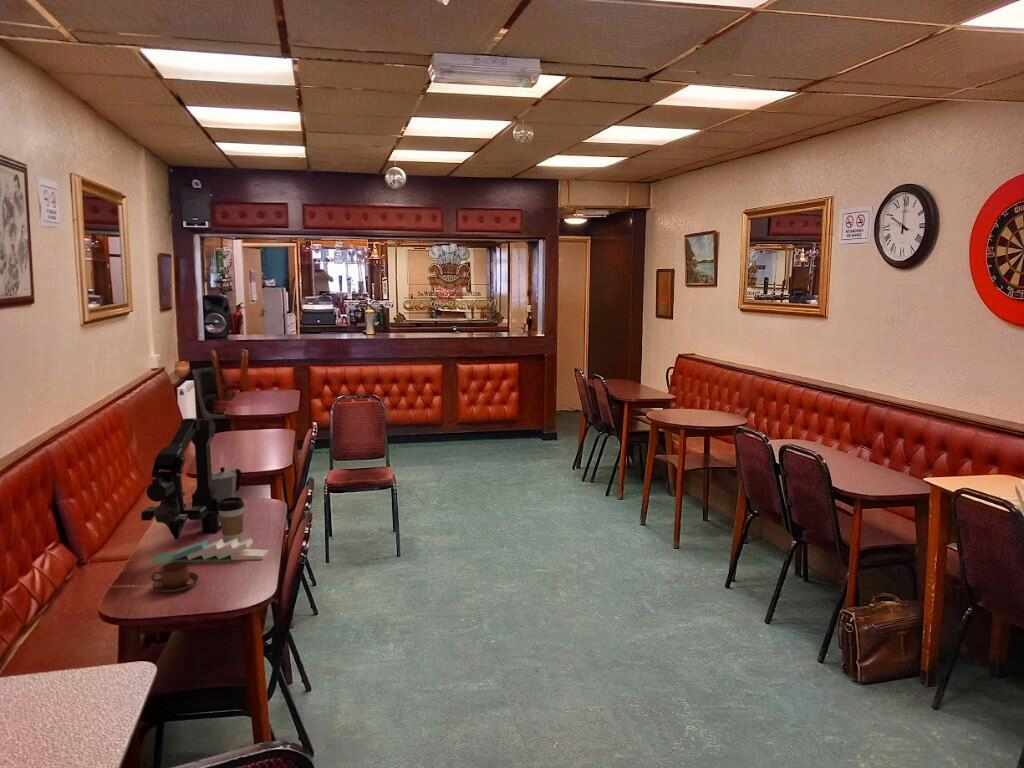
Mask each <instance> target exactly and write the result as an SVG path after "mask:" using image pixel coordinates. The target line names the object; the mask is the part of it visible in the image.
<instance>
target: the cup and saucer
mask: <svg viewBox="0 0 1024 768" xmlns="http://www.w3.org/2000/svg"><path fill="white" fill-rule="evenodd" d="M155 575H160V577H159V578H155ZM150 579H151V580H152V581H153V583H152V587H153V590H156V591H157V592H158V593H159V592H160V593H176V592H177V593H178V592H180V591H184V590H187V589H189V588H191V587H193V586H194V585H195V584H196V583H197V582H198V580H199V575H198V574H196V573H194V572H191V571H189V562H168V563H167V564H164V565H162V566H161V567H160V568H159V571H154V572H152V573H151V577H150ZM189 579H191V580H192V581H193V582H192V583H188V581H189Z"/></svg>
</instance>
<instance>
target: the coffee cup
mask: <svg viewBox="0 0 1024 768" xmlns="http://www.w3.org/2000/svg"><path fill="white" fill-rule="evenodd" d="M244 507H245V503H244V502H243V498H242V497H239V496H235V497H230V498H225V499H222V500H220V501H218V506H217V510H219V525H221V529H220V530H221V534H222V538H223V539H222V540H223V542H224V543H226V542H228V541H231V540H233V539H236V538H237V540H238V542H242V541H244V517H245V516H244V513H245V512H244Z"/></svg>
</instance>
